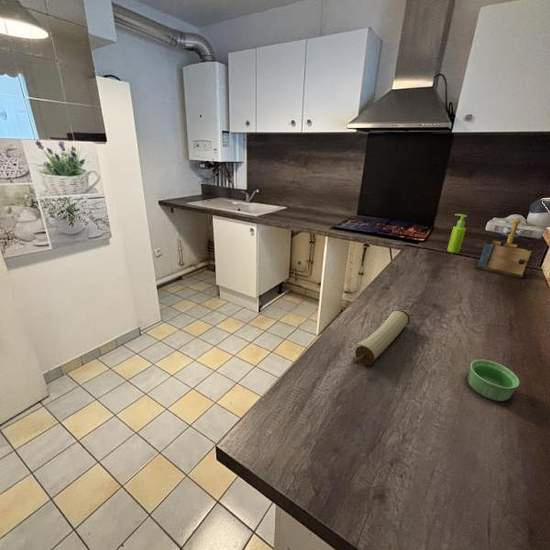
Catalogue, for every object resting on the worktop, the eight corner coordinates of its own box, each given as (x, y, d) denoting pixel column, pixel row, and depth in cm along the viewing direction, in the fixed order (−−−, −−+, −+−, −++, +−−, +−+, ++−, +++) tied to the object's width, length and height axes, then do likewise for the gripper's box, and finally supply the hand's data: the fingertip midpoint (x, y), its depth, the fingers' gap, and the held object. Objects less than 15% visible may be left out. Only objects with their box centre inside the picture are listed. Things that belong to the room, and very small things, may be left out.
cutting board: (522, 274, 130) (534, 244, 125) (521, 278, 126) (534, 247, 120) (477, 265, 140) (487, 236, 134) (476, 268, 136) (486, 238, 130)
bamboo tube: (364, 376, 68) (368, 359, 66) (343, 365, 72) (346, 348, 70) (413, 323, 90) (417, 309, 88) (396, 317, 93) (399, 303, 91)
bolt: (516, 246, 127) (526, 219, 123) (516, 248, 126) (526, 219, 121) (489, 242, 133) (498, 215, 128) (488, 243, 131) (497, 216, 126)
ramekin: (468, 368, 72) (473, 354, 70) (513, 386, 67) (520, 371, 65) (462, 389, 65) (467, 374, 64) (511, 410, 60) (519, 395, 58)
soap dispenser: (447, 248, 164) (457, 212, 156) (460, 251, 159) (471, 215, 151) (443, 250, 161) (453, 214, 153) (456, 253, 156) (467, 216, 148)
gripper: (539, 238, 131) (541, 244, 121) (485, 229, 142) (482, 235, 132) (545, 224, 128) (547, 229, 118) (489, 217, 140) (487, 221, 130)
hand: (512, 232), depth 125 cm, fingers closed on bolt, 2 cm apart
